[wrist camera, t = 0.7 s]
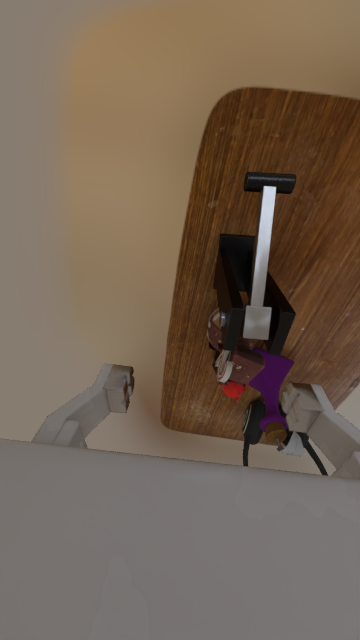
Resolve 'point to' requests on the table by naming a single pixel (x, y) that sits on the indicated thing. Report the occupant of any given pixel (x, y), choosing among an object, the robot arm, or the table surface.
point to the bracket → (237, 277)
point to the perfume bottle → (275, 402)
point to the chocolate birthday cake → (233, 359)
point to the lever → (262, 249)
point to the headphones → (254, 432)
